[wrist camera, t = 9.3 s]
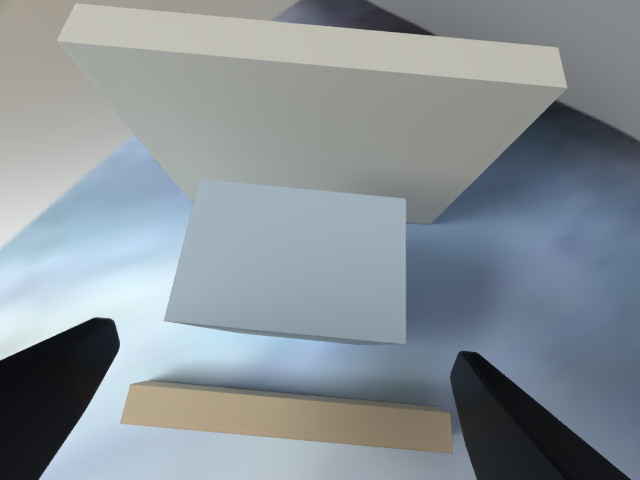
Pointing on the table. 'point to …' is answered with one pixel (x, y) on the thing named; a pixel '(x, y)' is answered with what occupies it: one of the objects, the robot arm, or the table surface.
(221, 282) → the pale grey square box
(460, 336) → the table surface
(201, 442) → the table surface
